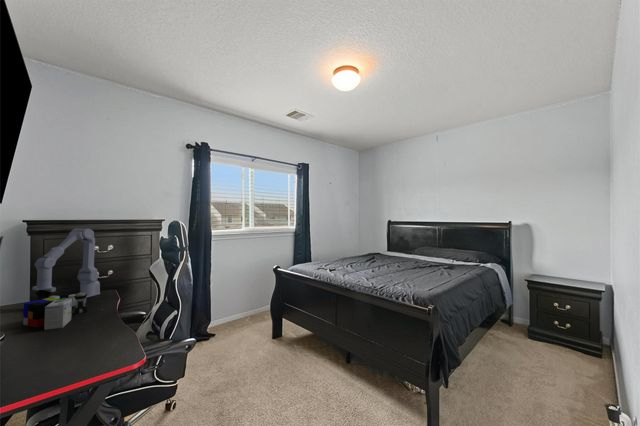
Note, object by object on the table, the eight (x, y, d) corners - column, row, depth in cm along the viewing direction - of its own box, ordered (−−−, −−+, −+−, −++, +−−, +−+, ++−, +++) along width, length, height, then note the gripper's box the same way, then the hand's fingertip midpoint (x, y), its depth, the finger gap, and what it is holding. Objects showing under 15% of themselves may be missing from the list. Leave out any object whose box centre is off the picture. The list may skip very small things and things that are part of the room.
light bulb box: (53, 322, 130) (54, 299, 130) (71, 320, 133) (72, 298, 133) (43, 330, 121) (44, 306, 121) (63, 327, 124) (64, 304, 124)
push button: (71, 315, 139) (71, 296, 139) (69, 313, 142) (69, 294, 143) (87, 312, 144) (88, 293, 145) (85, 309, 148) (86, 291, 148)
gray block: (54, 302, 156) (54, 295, 156) (59, 302, 155) (59, 295, 156) (48, 303, 154) (49, 296, 154) (54, 304, 153) (54, 297, 153)
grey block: (73, 300, 160) (73, 294, 160) (78, 301, 159) (78, 294, 159) (68, 301, 157) (68, 295, 157) (73, 302, 156) (73, 295, 156)
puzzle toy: (23, 324, 127) (23, 303, 127) (49, 317, 136) (50, 297, 137) (36, 327, 124) (37, 305, 124) (63, 319, 134) (63, 299, 134)
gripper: (25, 280, 148) (24, 304, 148) (45, 281, 145) (44, 307, 144) (41, 277, 155) (40, 301, 154) (60, 278, 151) (59, 303, 151)
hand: (43, 303), depth 150 cm, fingers closed
